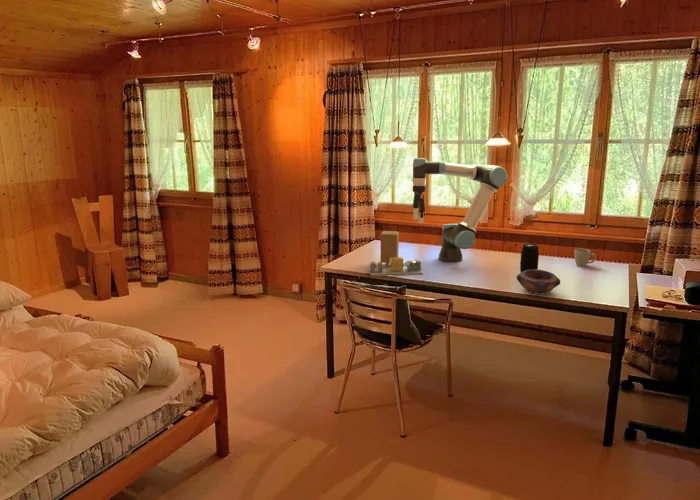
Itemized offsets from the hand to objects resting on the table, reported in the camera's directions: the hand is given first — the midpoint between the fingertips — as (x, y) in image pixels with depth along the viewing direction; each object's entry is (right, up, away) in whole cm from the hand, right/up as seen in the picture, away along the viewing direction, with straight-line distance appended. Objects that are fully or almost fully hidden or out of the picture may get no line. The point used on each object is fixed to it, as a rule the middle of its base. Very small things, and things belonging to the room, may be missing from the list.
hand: (418, 221), depth 307 cm
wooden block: (-16, -26, +16) cm, 34 cm away
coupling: (-13, -29, -4) cm, 33 cm away
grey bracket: (-24, -31, -4) cm, 39 cm away
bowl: (+56, -39, -40) cm, 79 cm away
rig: (-14, -30, -4) cm, 34 cm away
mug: (+102, -27, +8) cm, 105 cm away
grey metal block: (-4, -30, -1) cm, 30 cm away
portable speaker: (+59, -33, -17) cm, 70 cm away
